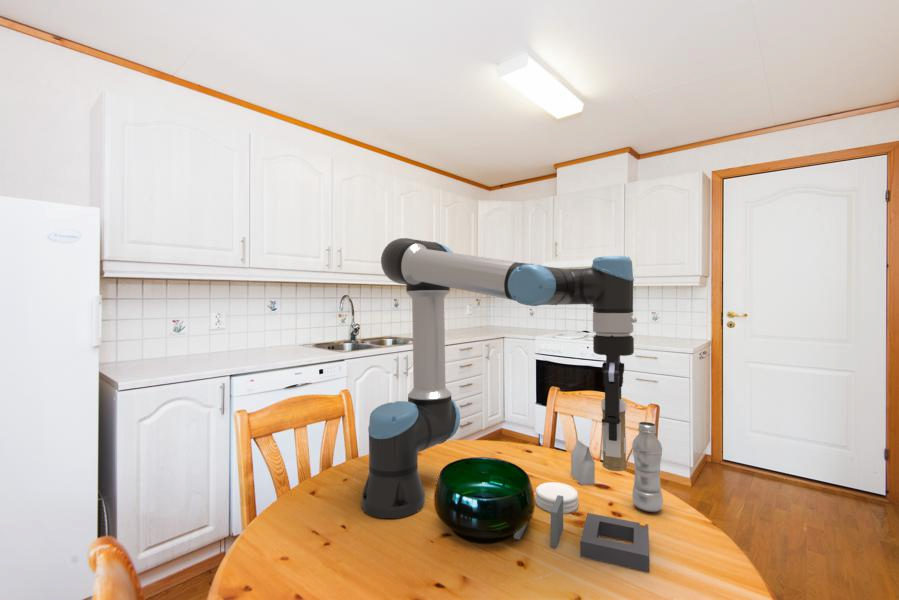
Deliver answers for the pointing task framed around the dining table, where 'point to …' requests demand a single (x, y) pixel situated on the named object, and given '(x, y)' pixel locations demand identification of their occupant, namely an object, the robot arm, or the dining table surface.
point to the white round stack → (549, 493)
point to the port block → (614, 550)
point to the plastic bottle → (647, 469)
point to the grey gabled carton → (582, 464)
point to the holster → (555, 523)
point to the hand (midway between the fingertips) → (614, 451)
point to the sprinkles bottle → (616, 462)
